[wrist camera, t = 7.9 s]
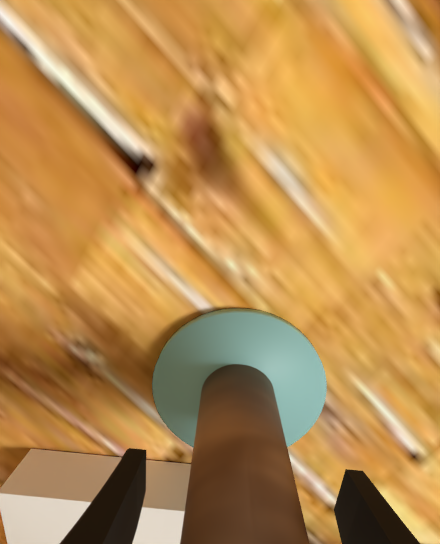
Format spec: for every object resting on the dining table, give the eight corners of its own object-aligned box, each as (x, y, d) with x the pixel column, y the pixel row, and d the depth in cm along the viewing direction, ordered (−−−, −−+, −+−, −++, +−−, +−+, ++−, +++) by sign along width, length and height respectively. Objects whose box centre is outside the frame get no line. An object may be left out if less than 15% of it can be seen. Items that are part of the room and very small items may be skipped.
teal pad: (338, 316, 13) (343, 322, 12) (306, 455, 16) (309, 465, 15) (156, 300, 13) (153, 304, 13) (154, 441, 16) (151, 450, 15)
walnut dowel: (282, 371, 13) (354, 611, 6) (264, 430, 14) (305, 699, 7) (208, 357, 13) (179, 581, 6) (195, 417, 14) (157, 675, 7)
